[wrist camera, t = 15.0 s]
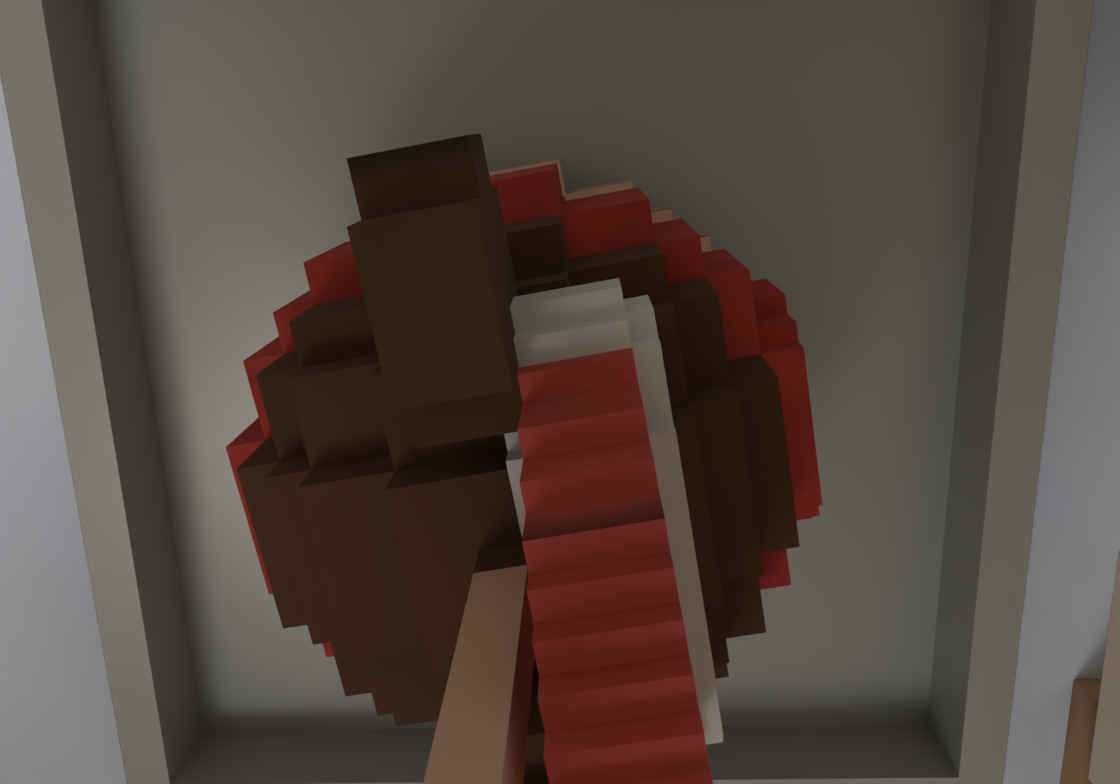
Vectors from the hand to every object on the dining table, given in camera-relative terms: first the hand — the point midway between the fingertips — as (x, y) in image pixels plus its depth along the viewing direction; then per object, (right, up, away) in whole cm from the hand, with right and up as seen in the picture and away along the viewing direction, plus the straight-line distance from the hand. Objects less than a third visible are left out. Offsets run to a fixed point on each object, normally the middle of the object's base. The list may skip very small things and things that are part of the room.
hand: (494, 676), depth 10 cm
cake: (0, +3, +11) cm, 12 cm away
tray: (0, +4, +12) cm, 12 cm away
